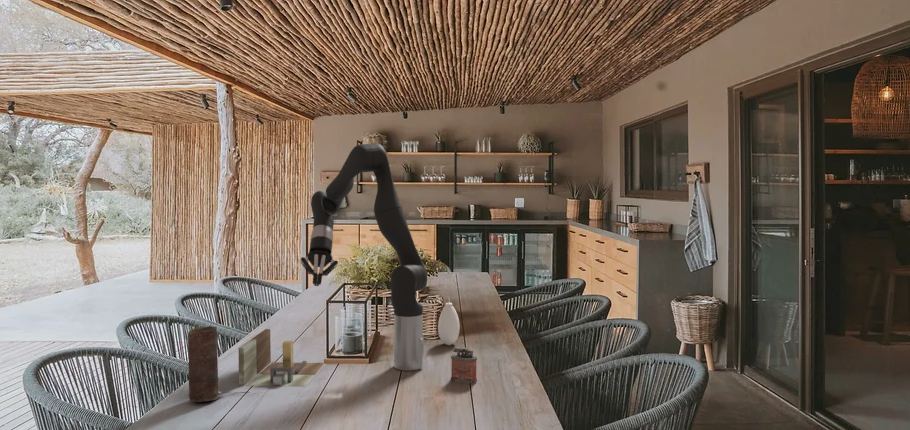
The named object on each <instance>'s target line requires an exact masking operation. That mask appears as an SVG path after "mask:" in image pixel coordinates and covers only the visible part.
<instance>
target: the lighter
mask: <svg viewBox="0 0 910 430" xmlns="http://www.w3.org/2000/svg"><path fill="white" fill-rule="evenodd" d="M452 352H453V353H454V354H451V355H450V359H451V376H450V381H451V380H452V381H451V382H454V381H456V382H455V383H460V382H462V383H461V384H470V383H474V384H476V382H477V383H478V379H477V361H478V357H477V356H476V355H475V356H474V349H471V348H470V349H469V348H468V347H464V348H462V347H453V348H452ZM455 353H456V354H455Z"/></svg>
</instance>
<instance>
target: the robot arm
mask: <svg viewBox="0 0 910 430" xmlns="http://www.w3.org/2000/svg"><path fill="white" fill-rule="evenodd" d="M370 172H373V174H374V176H375V182H376V185H377V191H376V195H375V200H374V206H373V213H374V217H375V220H376V223H377V226H378V229H379V231H380V232H381V235H382V236H383V237H384V239H385V240H386V241H387V242H388V243H389V244H390V246H391V247H392V248H393V249H394V251H395V252H396V255H397V257H398V260H399V263H400V265H398V266H396V267H395V268H394V269H393V270H392V272H391V274H390V275H391V276H390V296H391V299H390V300H391V304H392V307H393V317H394V318H393V344H394V345H393V358H394V359H393V366H394V367H393V368H395V369H396V370H399V371H405V372H407V371H408V372H409V371H417V370H422V369H423V367H424V308H423V307H424V306H423V304H422V303H419V302H418V301H417V292H419V291H421V290H424V289H425V287H426V286H427V282H428V273H427V269H426V267H425V264H424V263H423V261H422V258H421V256H420V255H419V252H418V250H417V247H416V245H415V242H414V239H413V236H412V234H411V231H410V228H409V225H408V223H407V218H406V216H405V213H404V209H403V207H402V204H401V202H400V199H399V195H398V192H397V190H396V186H395V183H394V182H395V181H394V180H393V175H392V174H393V173H392V170H391V165H390V161H389V158H388V154H387V152H386V150H385V148H384V147H383V145H381V144H380V143H365V144H364V143H363V144H358V145H356V146H354V147H353V148H352V150H351V151H350V152H349V154H348V156H347V157H346V159H345V162H344V164H343V165H342V167H341V169H340V170H339V172H338V174H337V176H336V177H334V178H333V180H332V181H331V182H330V183H329V184H328V185H327V187H326V188H325V191H323V190H318V191H316V192H314V193H313V195H312V197H311V200H310V207H311V212H312V217H313V224H312V225H313V226H312V232H311V235H310V243H309V250H308V251H309V252H308V253H307V255H306V256H305V257H303V256H302V257H301V258H300V264H301V265H302V267H303V268H304V269H305V271H306V273H307V274H308V275H312V284H313V285H314V286H315V287H319V286H320V285H321V284H322V279H323V278H322V277H323V276H325V277H326V276H328V275H329V274H330V273H332V271H334V269H336V268H337V267H338V263H339V261H338V260H334V259H333V255H332V250H333V242H334V223H335V221H334V220H335V219H334V217H333V216H332V215H335V214H337V213H338V212H339V211H340V207H341V205H342V202H343V201H344V199H345V198H346V196H348V195H349V193H351V191H352V190H353V188H354V184H355V182H354V178H355V177H356V176H357V175H359V174H361V173H370ZM309 263H310V264H311V265H310V264H309ZM312 267H313V268H312ZM326 267H327V268H326ZM318 269H319V270H318ZM324 269H325V270H324Z"/></svg>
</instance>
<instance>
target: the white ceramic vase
mask: <svg viewBox="0 0 910 430" xmlns="http://www.w3.org/2000/svg"><path fill="white" fill-rule="evenodd" d="M438 318H439V319H438V324H437V331H438V337H439V339H440V341H441V342H442V343H443V344H444V345H446V346H451V345H453V344H454V343H455V342H457V340H458V338H459V334H460V330H461V329H460V319H459V315H458V313H457V311H456V308H455V307H454V306H453V303H452V302H451V300H450V297H448V301H447V302H446V303H445V305H444V306H443V308H442V310H441V313H440V316H439V317H438Z"/></svg>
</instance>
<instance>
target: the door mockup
mask: <svg viewBox="0 0 910 430" xmlns="http://www.w3.org/2000/svg"><path fill="white" fill-rule="evenodd" d="M271 345H272V344H271V328H265V329H263V330H262V331H261V332H260V333H258V334H257V335H255V336H253V337H252V338H251V339H249V340H248V341H246V342H245V343H244V344H242V345H241V346H239V347H238V385H239V387H240V386H242V387H243V386H249V387H307V385H308V383H310V381H311V380H312V379H313V378H314V376H315V375H316V374H317V373H318V372H319V370H320V369H321V368H322V367H323V366H324V364H325V362H306V366H305V367H304V368H303V369H302V370H301V371H300V372H299V373H298V374H295V369H296V368H297V367H298V366H299V365H300V364H301V363H302V362H293V381H292V382H291V383H288V379H287V380H286V381H285V382H284V383H283V384H282V385H273V382H270V368H271V367H272V366H283V361H281V362H278V361H277V362H274V361H273V362H271V360H272V359H271V357H272V356H271V352H272V351H271V347H272V346H271ZM277 373H278V372H277V371H276V374H277Z"/></svg>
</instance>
